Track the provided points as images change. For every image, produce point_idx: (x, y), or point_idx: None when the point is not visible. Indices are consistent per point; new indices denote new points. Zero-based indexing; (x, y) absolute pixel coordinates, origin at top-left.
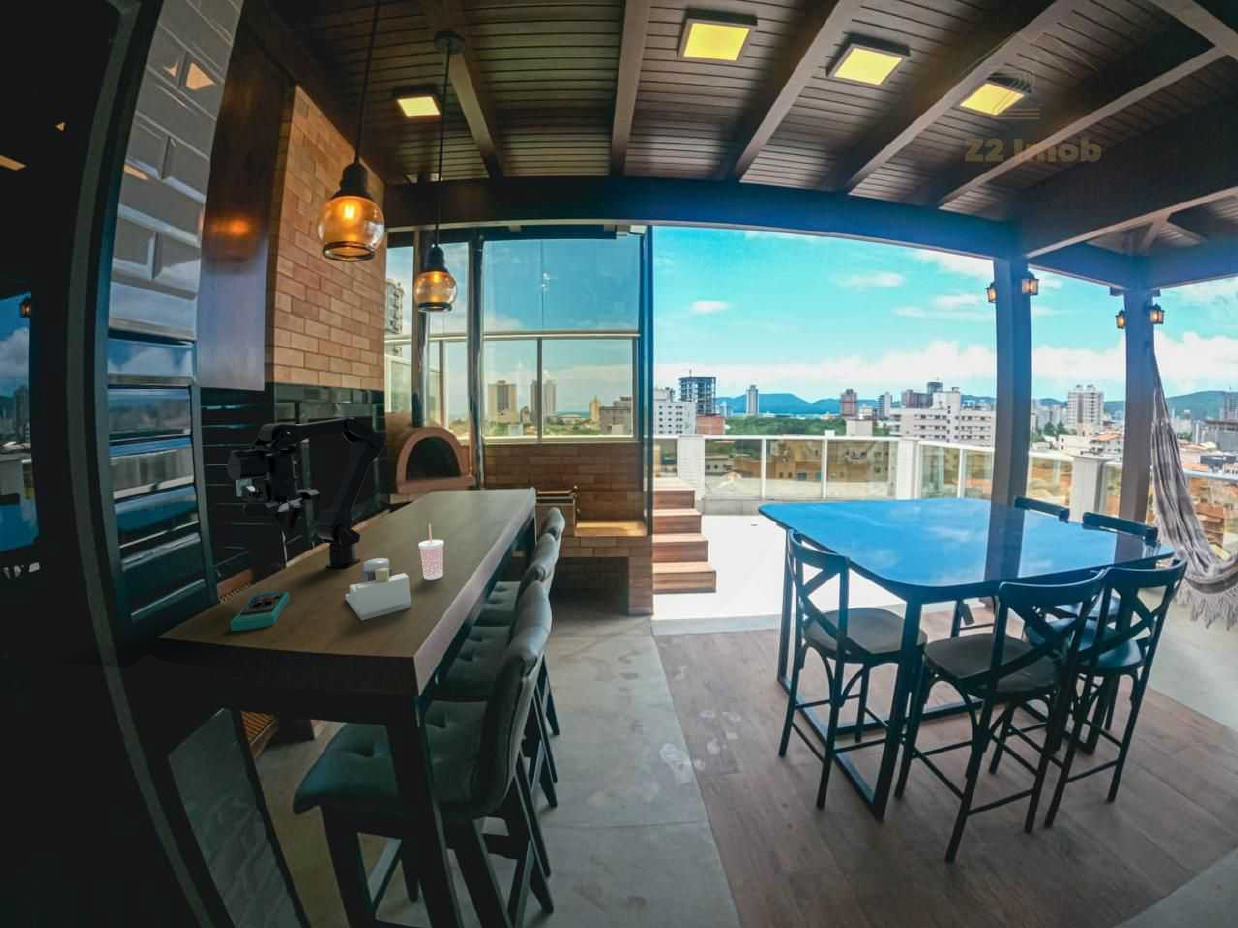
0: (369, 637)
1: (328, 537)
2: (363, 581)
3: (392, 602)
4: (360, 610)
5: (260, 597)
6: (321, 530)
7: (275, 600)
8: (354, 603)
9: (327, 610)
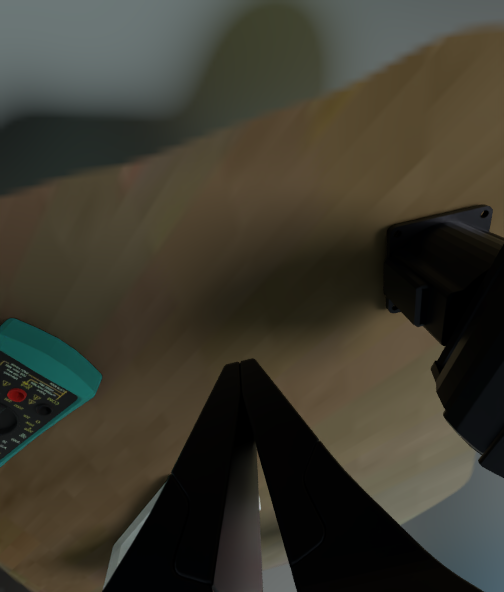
0: (78, 579)
1: (452, 359)
2: None
3: None
4: (109, 567)
5: (11, 367)
6: (501, 349)
7: (31, 419)
8: (142, 524)
9: (111, 484)
